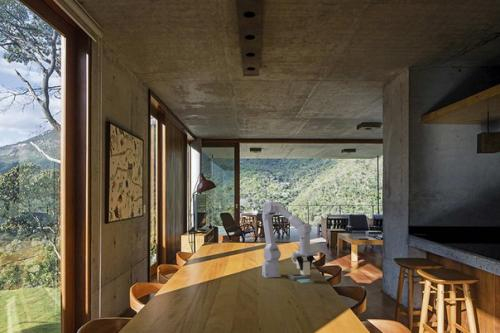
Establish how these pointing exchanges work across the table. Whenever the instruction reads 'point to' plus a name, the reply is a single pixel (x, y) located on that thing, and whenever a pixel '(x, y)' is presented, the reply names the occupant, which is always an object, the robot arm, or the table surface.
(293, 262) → the mug
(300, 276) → the grey square frame
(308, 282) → the mat
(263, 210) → the robot arm
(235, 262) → the table surface
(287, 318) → the table surface
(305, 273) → the plug
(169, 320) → the table surface
